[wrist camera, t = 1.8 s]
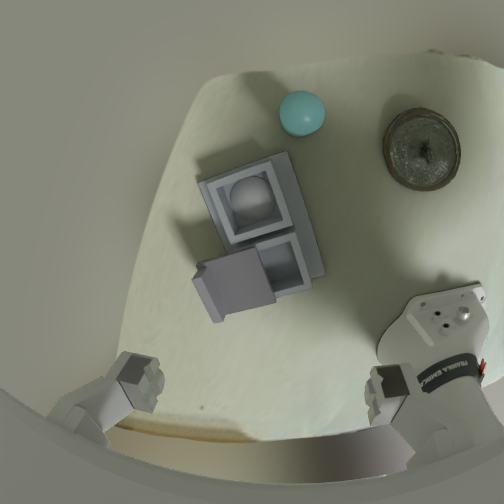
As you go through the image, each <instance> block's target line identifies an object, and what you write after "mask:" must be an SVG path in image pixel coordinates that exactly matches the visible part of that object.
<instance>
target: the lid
mask: <svg viewBox="0 0 504 504" xmlns="http://www.w3.org/2000/svg"><path fill="white" fill-rule="evenodd" d="M383 152H384V156H385V159H386V162H387V166H388V168H389V171H390V172H391V174H392V175H393V176H394V178H395V179H396V180H397V181H398V182H399V183H401V184H402V185H404V186H405V187H408V188H410V189H412V190H417V191H434V190H437V189H440V188H442V187H444V186H446V185H447V184H449V182H450V181H451V180H452V179H453V178H454V177H455V175H456V173H457V171H458V168H459V164H460V158H461V149H460V143H459V139H458V135H457V133H456V131H455V129H454V127H453V126H452V125H451V124H450V122H449V121H448V120H447V119H445V118H444V117H443V116H442V115H440V114H439V113H436V112H434V111H432V110H429V109H426V108H412V109H409V110H406V111H404V112H403V113H401V114H399V115H398V116H397V117H396V118H395V119H394V121H393V122H392V123H391V124H390V126H389V128H388V129H387V131H386V134H385V137H384V140H383Z"/></svg>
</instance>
